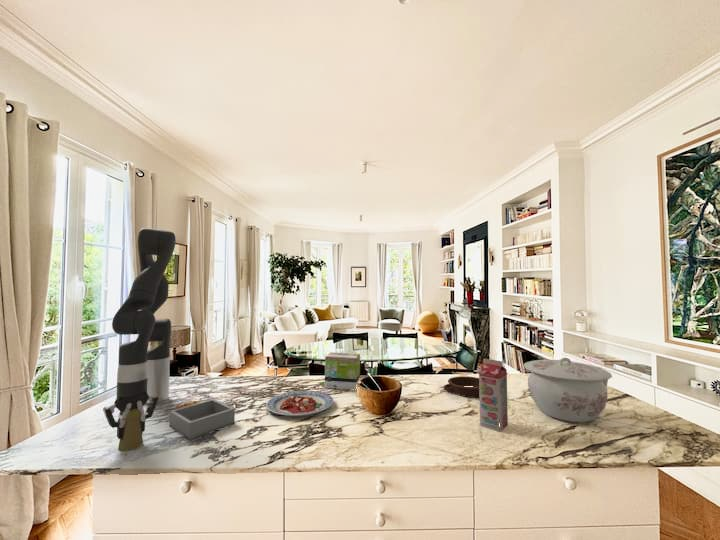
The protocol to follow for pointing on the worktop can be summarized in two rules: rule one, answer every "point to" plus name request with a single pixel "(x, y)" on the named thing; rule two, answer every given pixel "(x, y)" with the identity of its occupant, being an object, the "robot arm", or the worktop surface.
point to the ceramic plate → (299, 403)
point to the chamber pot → (568, 389)
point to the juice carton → (493, 395)
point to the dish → (458, 386)
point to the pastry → (185, 405)
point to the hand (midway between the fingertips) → (130, 436)
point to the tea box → (342, 370)
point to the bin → (201, 418)
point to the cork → (132, 431)
